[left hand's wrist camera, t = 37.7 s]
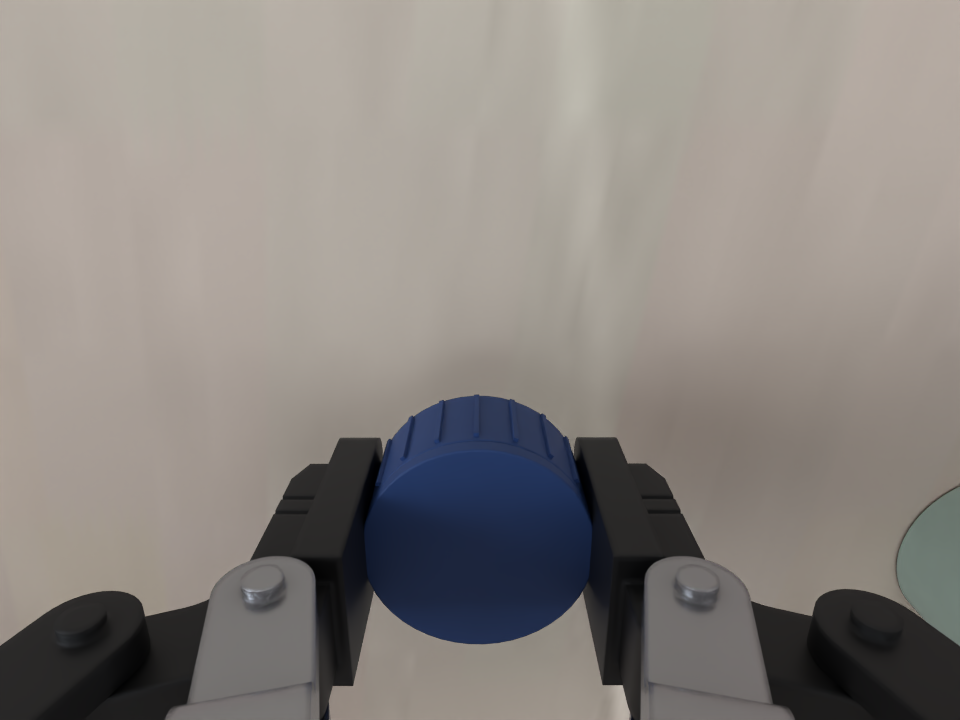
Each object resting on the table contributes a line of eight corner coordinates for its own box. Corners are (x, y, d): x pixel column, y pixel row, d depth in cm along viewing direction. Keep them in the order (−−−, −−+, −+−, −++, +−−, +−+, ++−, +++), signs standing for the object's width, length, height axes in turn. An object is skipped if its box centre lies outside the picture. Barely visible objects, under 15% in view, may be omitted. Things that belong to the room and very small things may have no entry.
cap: (519, 596, 13) (526, 678, 11) (343, 522, 12) (320, 595, 11) (619, 447, 12) (645, 510, 10) (431, 357, 11) (420, 406, 9)
